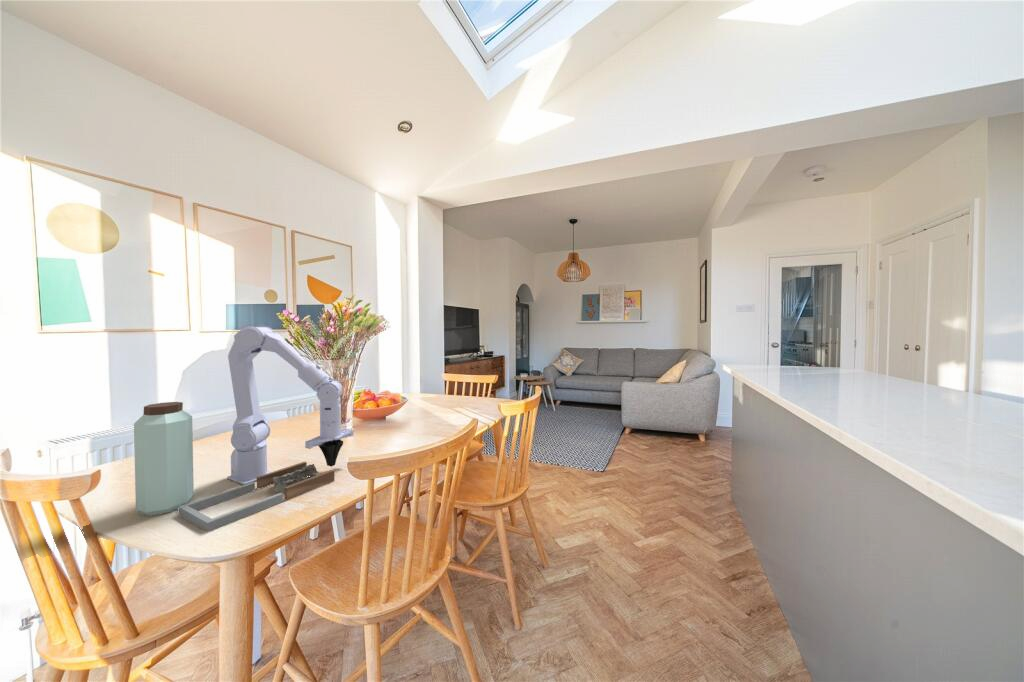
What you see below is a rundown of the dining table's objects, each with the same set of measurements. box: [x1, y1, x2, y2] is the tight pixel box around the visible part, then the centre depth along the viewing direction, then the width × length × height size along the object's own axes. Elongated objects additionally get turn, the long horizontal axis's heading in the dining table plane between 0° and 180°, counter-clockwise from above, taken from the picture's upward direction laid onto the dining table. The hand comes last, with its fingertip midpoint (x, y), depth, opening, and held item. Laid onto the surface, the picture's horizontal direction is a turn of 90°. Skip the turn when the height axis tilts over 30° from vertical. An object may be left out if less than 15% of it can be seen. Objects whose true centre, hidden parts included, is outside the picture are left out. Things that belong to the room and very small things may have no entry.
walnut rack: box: [256, 461, 335, 501], centre depth 98 cm, size 14×13×3 cm
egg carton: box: [273, 463, 320, 494], centre depth 98 cm, size 11×8×4 cm
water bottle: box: [133, 401, 195, 517], centre depth 85 cm, size 10×10×25 cm
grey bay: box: [178, 481, 284, 533], centre depth 84 cm, size 14×15×2 cm
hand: (331, 465), depth 107 cm, fingers closed
